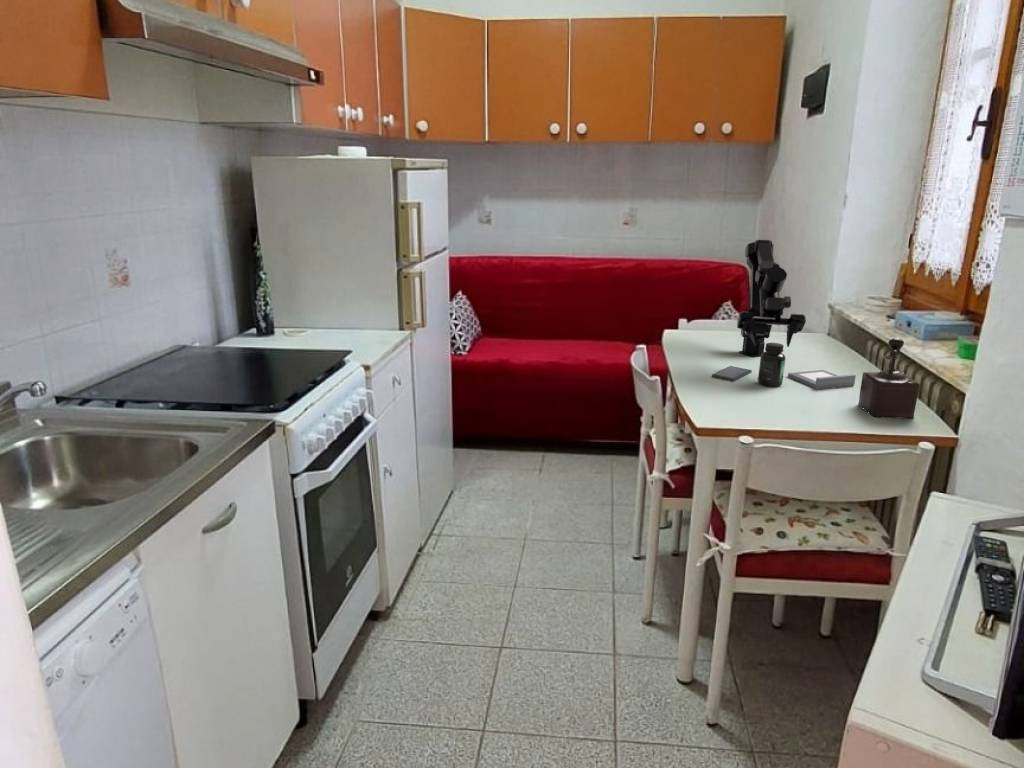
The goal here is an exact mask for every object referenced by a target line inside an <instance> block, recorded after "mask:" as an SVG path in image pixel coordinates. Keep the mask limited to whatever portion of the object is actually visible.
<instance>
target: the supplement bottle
mask: <svg viewBox="0 0 1024 768" xmlns="http://www.w3.org/2000/svg"><path fill="white" fill-rule="evenodd" d="M783 352H784V344H782V343H778V342H767V343H765V347H764V353H762V355H761V356H760V358H759V359H760V361H759V366H758V367H759V368H758V377H757V383H758V384H759V385H760V386H762V387H763V386H764V387H768V388H779V387H781V386H782V385H783V381H784V373H785V365H786V359H787V358H786V355H785V354H783Z"/></svg>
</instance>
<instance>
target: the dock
mask: <svg viewBox="0 0 1024 768" xmlns="http://www.w3.org/2000/svg"><path fill="white" fill-rule="evenodd" d="M787 373H788V374H787V377H788V378H790V379H792V380H794V381H796V382H799V383H802V384H804V385H807V386H808V385H809V387H811V388H812V389H813V388H814V389H816V390H826V389H825V388H828V389H833V388H832V387H838V388H842V387H841V386H847V387H851V386H850V385H854V386H855V381H856V377H857V375H856V374H852V373H851V374H843V375H842V374H841V375H837V374H836V373H832V372H829V371H827V370H824V369H820V370H818V369H817V370H808V371H797V372H787Z"/></svg>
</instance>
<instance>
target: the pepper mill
mask: <svg viewBox="0 0 1024 768" xmlns="http://www.w3.org/2000/svg"><path fill="white" fill-rule="evenodd" d="M888 346H889V347H890V352H889V354H888V355H883V356H882V359H884V360H889V361H891V362H890V367H889V369H888V368H887V369H883V370H880V371H879V372H877V371H876V372H873V371H872V372H871V371H869V372H867V371H866V372H865V371H864V372H863V373H862V376H861V377H862V379H861V382H860V383H861V384H860V390H859V396H858V397H859V398H858V406H859V405H860V406H861V407H862V408H864V409H865V410H866V411H867V412H869V413H870V414H871V416H872V415H873V416H876V417H875V418H882V417H906V418H905V419H914V418H915V411H916V406H917V400H918V397H919V396H918V395H919V392H920V391H919V390H920V383H919V382H917V381H915V380H914V379H913V377H911V376H910V375H908V374H906V373H907V370H906V369H905V370H903V371H900V370H898V369H896V368H895V367H896V366H895V365H896V361H897V360H898V356H901V349H902V348H903V347H904V340H903V339H902V338H899V337H898V338H897V337H893V338H891V339H889V340H888ZM860 406H859V407H860ZM861 407H860V408H861ZM862 408H861V409H862ZM864 409H863V410H864ZM865 410H864V411H865ZM866 411H865V412H866ZM867 412H866V413H867ZM869 413H868V414H869ZM870 414H869V415H870ZM873 416H872V417H873Z"/></svg>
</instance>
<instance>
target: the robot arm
mask: <svg viewBox="0 0 1024 768" xmlns="http://www.w3.org/2000/svg"><path fill="white" fill-rule="evenodd" d="M744 257H745V258H746V265H748V267H749V268H750V271H751V272H750V301H749V302H750V305H749V306H750V307H749V308H750V309H749V310H748V311H741V312H739V314H738V318H737V324H736V327H737V328H738V329H740V335H741V337H742V338H743V340H742V349H741V350H738V353H740V354H743V355H745V356H748V357H752V358H753V357H761V355H762V353H764V352H765V347H766V343H765V339H769V338H770V337H771V336H770V335H771V331H772V327H773V326H786V327H787V330H786V347H788V348H789V347H790V345H791V342H792V339H793V335H795V334H797V333H799V332H802V330H803V328H804V326H805V325H806V323H807V322H806V321H807V318H806V316H805V314H800V313H791V314H790V316H789V318H786V317H782V316H783V315H784V310H785V309H790V308H791V305H792V298H791V296H783V297H780V296H781V295H780V292H782V290H783V288H784V285H785V282H786V280H787V278H788V277H787V275H788V273H787V271H786V270H785V269H784V268H782V267H781V266H780V264H778V263H776V262H775V258H774V243H773V241H772V240H770V239H756V240H754V242H750V243H748V244H747V245H746V246H745V250H744Z"/></svg>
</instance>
